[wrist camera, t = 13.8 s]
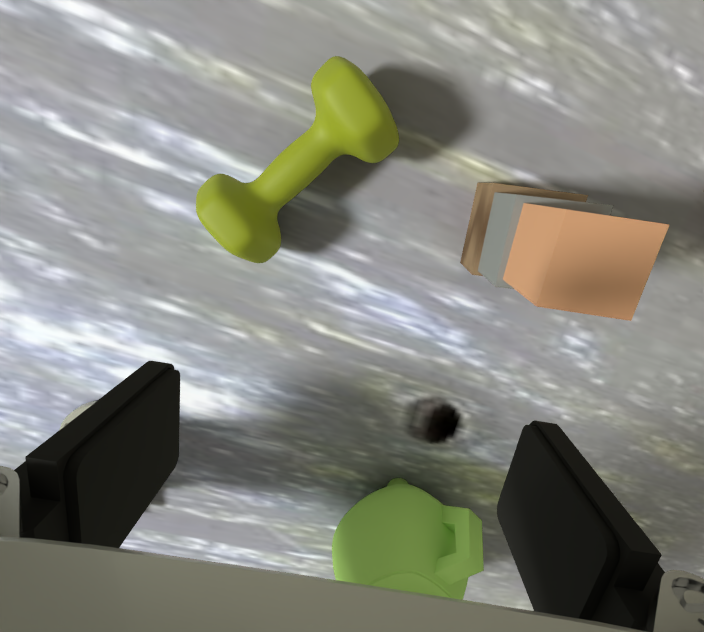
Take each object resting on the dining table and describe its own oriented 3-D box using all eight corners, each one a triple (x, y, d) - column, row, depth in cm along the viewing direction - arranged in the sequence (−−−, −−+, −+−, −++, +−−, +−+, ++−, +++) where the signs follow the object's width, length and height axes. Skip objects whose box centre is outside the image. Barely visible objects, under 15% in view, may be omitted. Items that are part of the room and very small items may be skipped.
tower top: (553, 279, 31) (584, 297, 26) (477, 270, 31) (495, 286, 27) (575, 201, 29) (613, 205, 25) (494, 192, 29) (516, 194, 25)
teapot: (376, 589, 50) (375, 715, 38) (298, 528, 48) (271, 644, 36) (501, 505, 45) (546, 623, 33) (420, 432, 42) (436, 531, 30)
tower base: (536, 272, 36) (559, 286, 31) (460, 262, 36) (472, 274, 31) (558, 193, 34) (588, 195, 29) (477, 182, 34) (493, 182, 29)
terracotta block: (576, 290, 26) (630, 320, 21) (502, 279, 26) (536, 306, 21) (602, 214, 25) (669, 224, 19) (523, 202, 25) (566, 209, 19)
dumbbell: (347, 60, 32) (339, 26, 25) (406, 143, 33) (414, 134, 26) (207, 194, 36) (167, 197, 29) (266, 262, 37) (241, 281, 31)
